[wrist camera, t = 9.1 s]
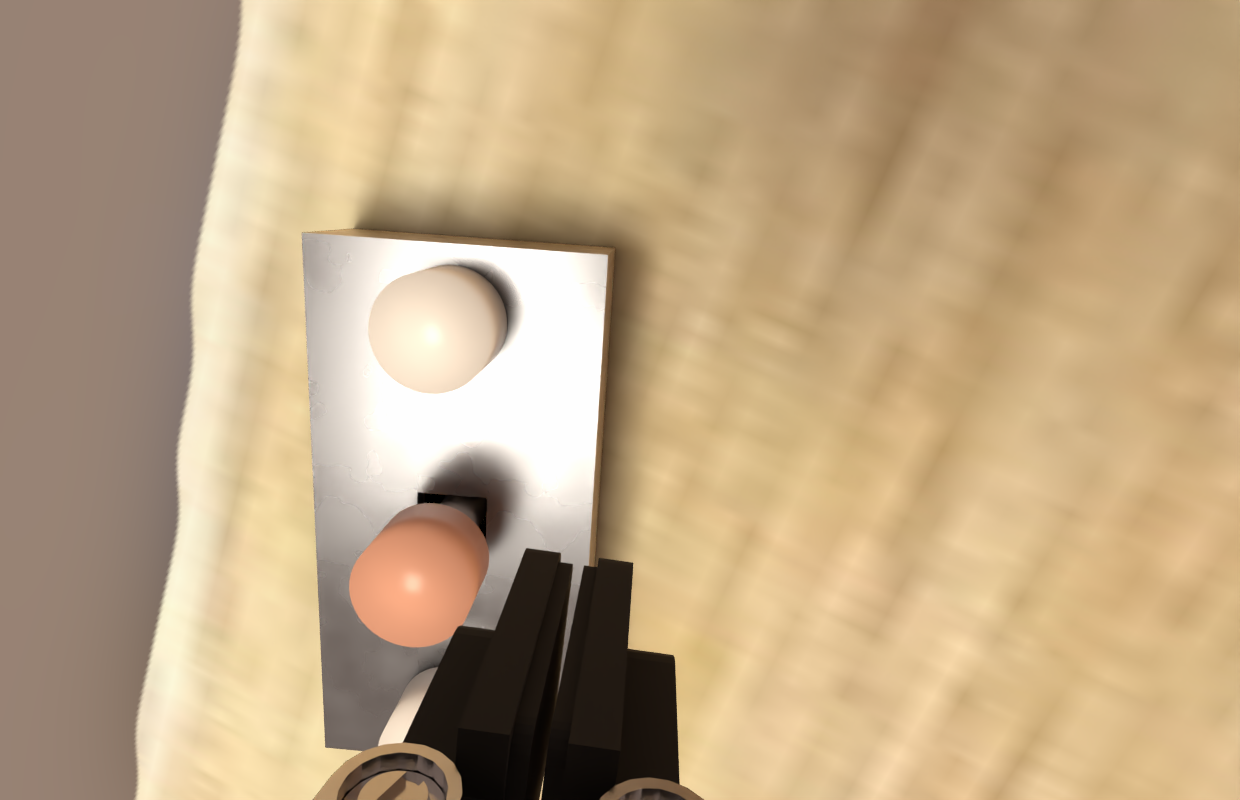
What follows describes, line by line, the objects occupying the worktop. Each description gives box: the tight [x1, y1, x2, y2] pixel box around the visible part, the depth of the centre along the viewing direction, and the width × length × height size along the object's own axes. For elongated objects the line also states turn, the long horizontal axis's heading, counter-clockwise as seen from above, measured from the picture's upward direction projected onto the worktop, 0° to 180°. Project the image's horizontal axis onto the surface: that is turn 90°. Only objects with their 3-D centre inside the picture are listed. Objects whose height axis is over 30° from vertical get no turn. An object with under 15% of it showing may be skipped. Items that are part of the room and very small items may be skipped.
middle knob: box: [349, 495, 489, 647], centre depth 30 cm, size 4×4×8 cm
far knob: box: [378, 667, 438, 746], centre depth 34 cm, size 4×4×8 cm
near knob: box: [368, 265, 507, 394], centre depth 30 cm, size 4×4×8 cm
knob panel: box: [302, 228, 615, 751], centre depth 34 cm, size 24×12×5 cm, turn 176°
